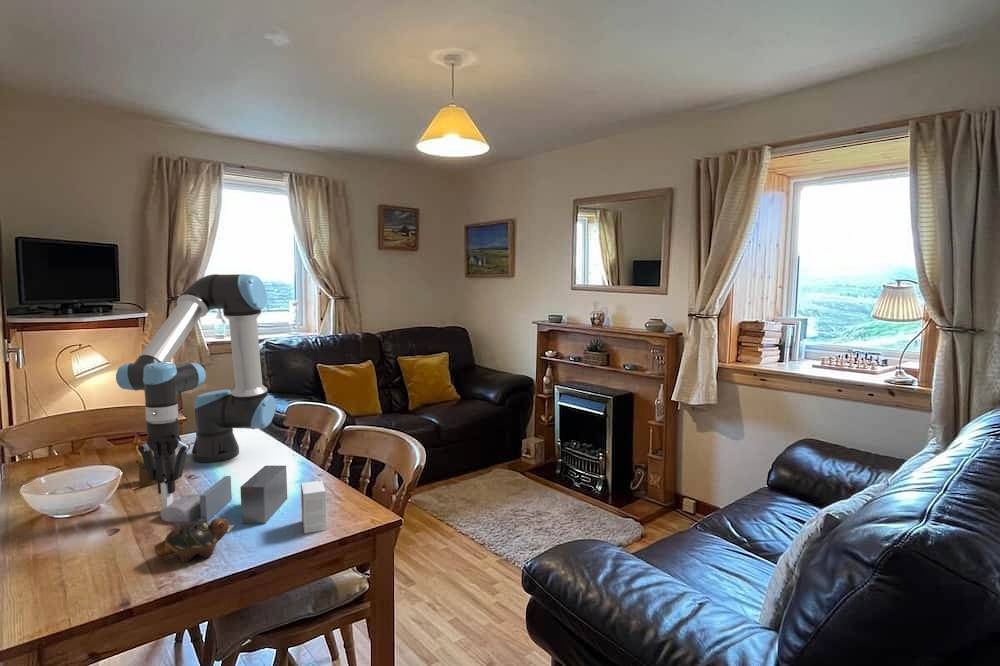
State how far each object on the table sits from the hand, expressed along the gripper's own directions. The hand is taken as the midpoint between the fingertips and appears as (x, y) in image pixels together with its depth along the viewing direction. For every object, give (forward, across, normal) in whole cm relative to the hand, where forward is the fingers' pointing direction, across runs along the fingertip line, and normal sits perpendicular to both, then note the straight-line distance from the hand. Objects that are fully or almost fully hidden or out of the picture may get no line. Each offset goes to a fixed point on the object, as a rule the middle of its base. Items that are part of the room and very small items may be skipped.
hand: (167, 504), depth 150 cm
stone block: (+2, +6, -1) cm, 6 cm away
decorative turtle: (+2, +20, -24) cm, 31 cm away
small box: (+2, +43, -9) cm, 44 cm away
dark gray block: (+2, +27, 0) cm, 27 cm away
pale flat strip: (+2, +17, -11) cm, 21 cm away
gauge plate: (+2, +13, -2) cm, 14 cm away
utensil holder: (+2, -18, +21) cm, 27 cm away
